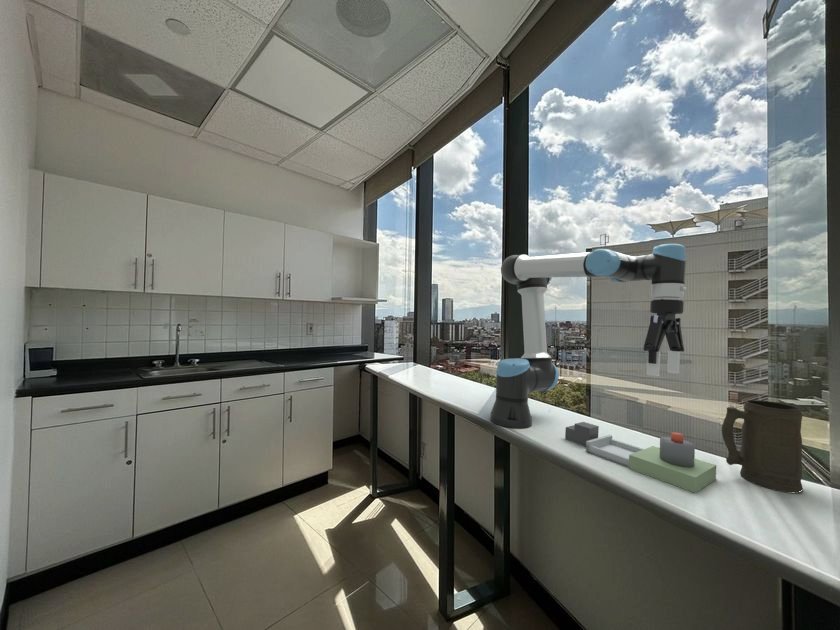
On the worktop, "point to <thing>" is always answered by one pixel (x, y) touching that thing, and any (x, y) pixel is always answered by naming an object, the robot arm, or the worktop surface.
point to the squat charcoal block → (581, 433)
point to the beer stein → (767, 444)
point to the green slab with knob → (659, 460)
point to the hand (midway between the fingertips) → (663, 374)
